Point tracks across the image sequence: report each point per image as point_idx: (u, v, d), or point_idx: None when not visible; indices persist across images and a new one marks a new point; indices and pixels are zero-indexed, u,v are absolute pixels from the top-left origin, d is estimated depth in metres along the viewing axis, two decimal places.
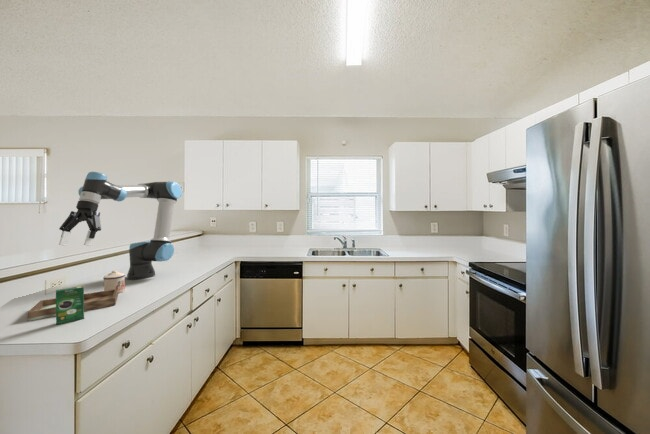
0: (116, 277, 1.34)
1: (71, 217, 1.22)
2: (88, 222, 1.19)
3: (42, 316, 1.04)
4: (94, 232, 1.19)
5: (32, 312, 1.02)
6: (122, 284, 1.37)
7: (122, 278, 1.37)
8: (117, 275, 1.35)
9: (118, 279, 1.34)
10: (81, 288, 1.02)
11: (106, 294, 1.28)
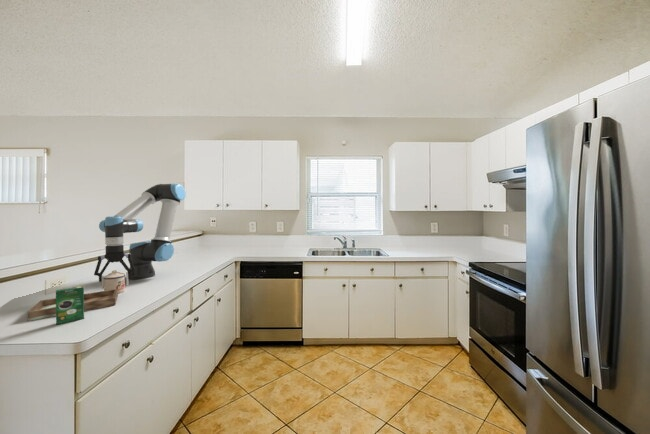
0: (116, 277, 1.34)
1: None
2: (124, 264, 1.39)
3: (42, 316, 1.04)
4: (130, 273, 1.42)
5: (32, 312, 1.02)
6: (122, 284, 1.37)
7: (122, 278, 1.37)
8: (117, 275, 1.35)
9: (118, 279, 1.35)
10: (81, 288, 1.02)
11: (106, 294, 1.28)
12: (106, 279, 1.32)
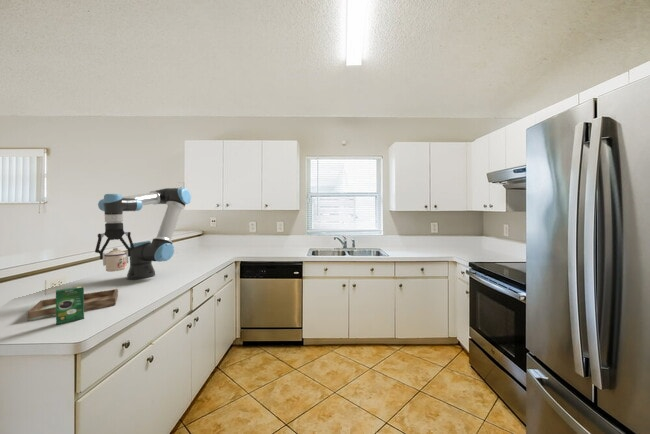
0: (117, 254, 1.34)
1: (101, 239, 1.34)
2: (124, 242, 1.39)
3: (42, 316, 1.04)
4: (130, 251, 1.42)
5: (32, 312, 1.02)
6: (124, 262, 1.37)
7: (123, 256, 1.37)
8: (118, 252, 1.35)
9: (119, 257, 1.35)
10: (81, 288, 1.02)
11: (106, 294, 1.28)
12: (107, 256, 1.33)
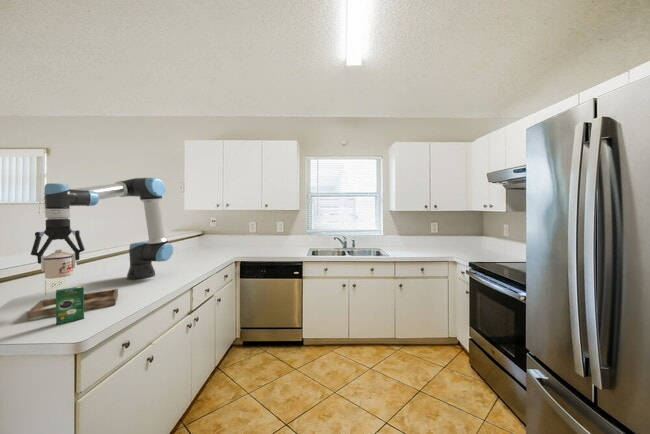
0: (60, 257, 1.09)
1: (39, 238, 1.09)
2: (70, 243, 1.14)
3: (42, 316, 1.04)
4: None
5: (32, 312, 1.02)
6: (69, 266, 1.12)
7: (68, 259, 1.12)
8: (61, 255, 1.10)
9: (62, 260, 1.10)
10: (81, 288, 1.02)
11: (106, 294, 1.28)
12: (46, 259, 1.08)
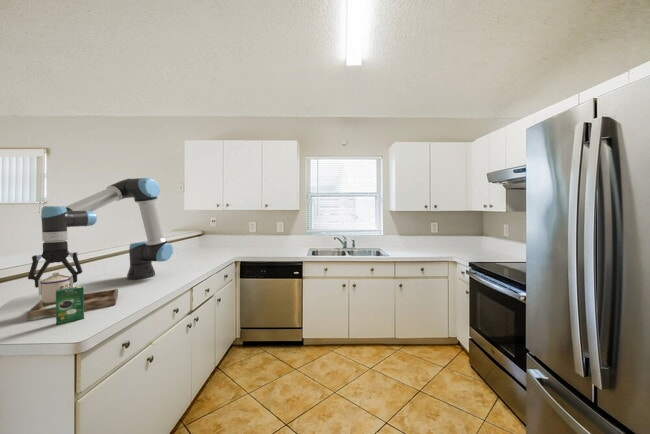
0: (57, 281, 1.08)
1: (36, 262, 1.08)
2: (68, 266, 1.13)
3: (42, 316, 1.04)
4: (76, 276, 1.16)
5: (32, 312, 1.02)
6: None
7: (66, 282, 1.11)
8: (59, 278, 1.09)
9: (60, 284, 1.09)
10: (81, 288, 1.02)
11: (106, 294, 1.28)
12: (43, 284, 1.07)
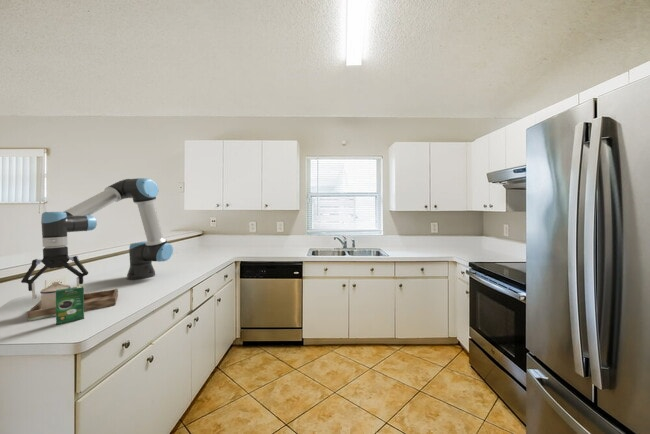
0: None
1: (35, 266, 1.08)
2: (71, 269, 1.14)
3: (42, 316, 1.04)
4: (82, 277, 1.17)
5: (32, 312, 1.02)
6: None
7: None
8: (58, 288, 1.09)
9: None
10: (81, 288, 1.02)
11: (106, 294, 1.28)
12: (43, 293, 1.07)
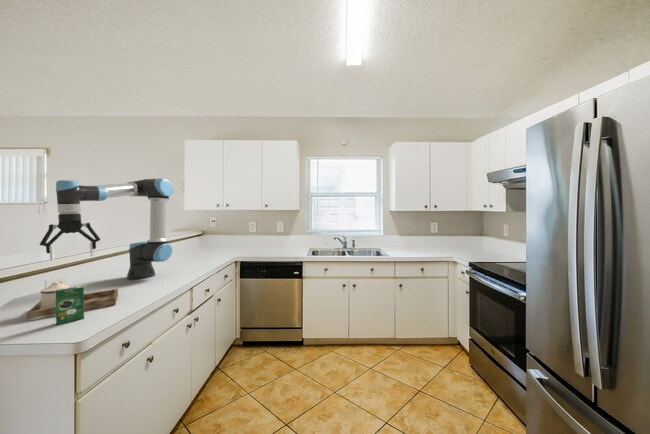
0: None
1: (51, 231, 1.16)
2: (85, 234, 1.22)
3: (42, 316, 1.04)
4: (95, 243, 1.26)
5: (32, 312, 1.02)
6: None
7: None
8: (59, 288, 1.09)
9: None
10: (81, 288, 1.02)
11: (106, 294, 1.28)
12: (43, 293, 1.07)
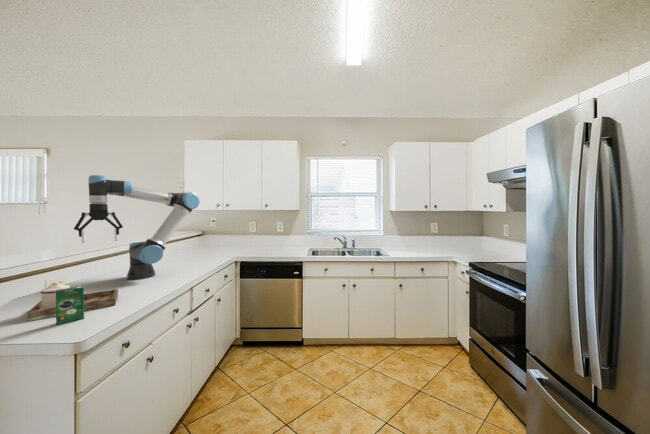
0: None
1: (83, 218, 1.37)
2: (110, 222, 1.43)
3: (42, 316, 1.04)
4: (118, 229, 1.46)
5: (32, 312, 1.02)
6: None
7: None
8: (59, 288, 1.09)
9: None
10: (81, 288, 1.02)
11: (106, 294, 1.28)
12: (43, 293, 1.07)
